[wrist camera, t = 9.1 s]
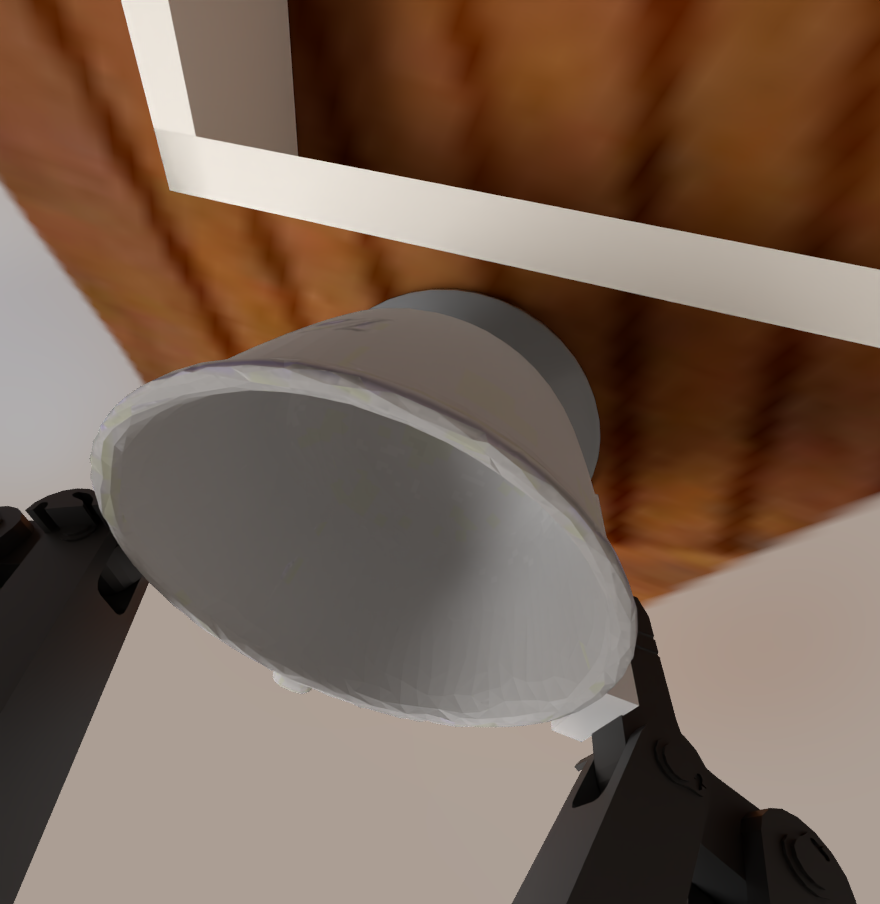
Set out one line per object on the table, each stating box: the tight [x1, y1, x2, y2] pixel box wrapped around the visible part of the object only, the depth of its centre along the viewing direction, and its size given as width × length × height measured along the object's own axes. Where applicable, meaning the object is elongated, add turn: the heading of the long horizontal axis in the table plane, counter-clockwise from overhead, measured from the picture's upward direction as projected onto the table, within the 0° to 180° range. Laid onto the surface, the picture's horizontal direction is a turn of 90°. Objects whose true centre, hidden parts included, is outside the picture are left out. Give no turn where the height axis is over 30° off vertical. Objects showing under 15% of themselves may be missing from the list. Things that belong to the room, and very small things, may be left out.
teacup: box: [90, 308, 638, 727], centre depth 11 cm, size 14×11×8 cm
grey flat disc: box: [369, 289, 600, 479], centre depth 15 cm, size 13×13×1 cm
